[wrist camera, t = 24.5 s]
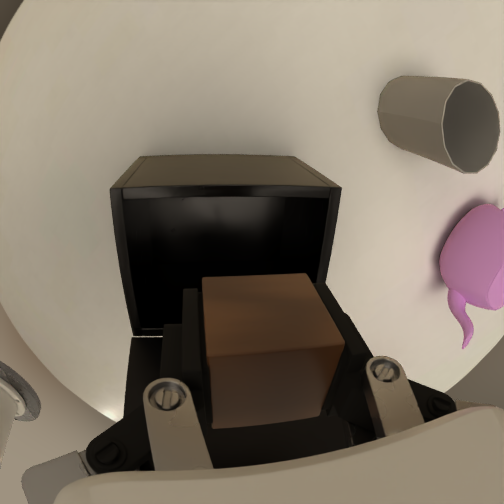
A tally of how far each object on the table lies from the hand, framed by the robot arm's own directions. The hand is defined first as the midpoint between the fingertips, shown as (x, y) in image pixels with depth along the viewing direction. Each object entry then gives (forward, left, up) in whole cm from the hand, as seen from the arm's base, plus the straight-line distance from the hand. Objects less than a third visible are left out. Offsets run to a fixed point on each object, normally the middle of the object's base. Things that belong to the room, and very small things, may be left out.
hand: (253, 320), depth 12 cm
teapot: (+35, -8, -20) cm, 41 cm away
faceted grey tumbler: (+20, +9, -20) cm, 30 cm away
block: (0, 0, 0) cm, 0 cm away
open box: (0, -3, -20) cm, 20 cm away
